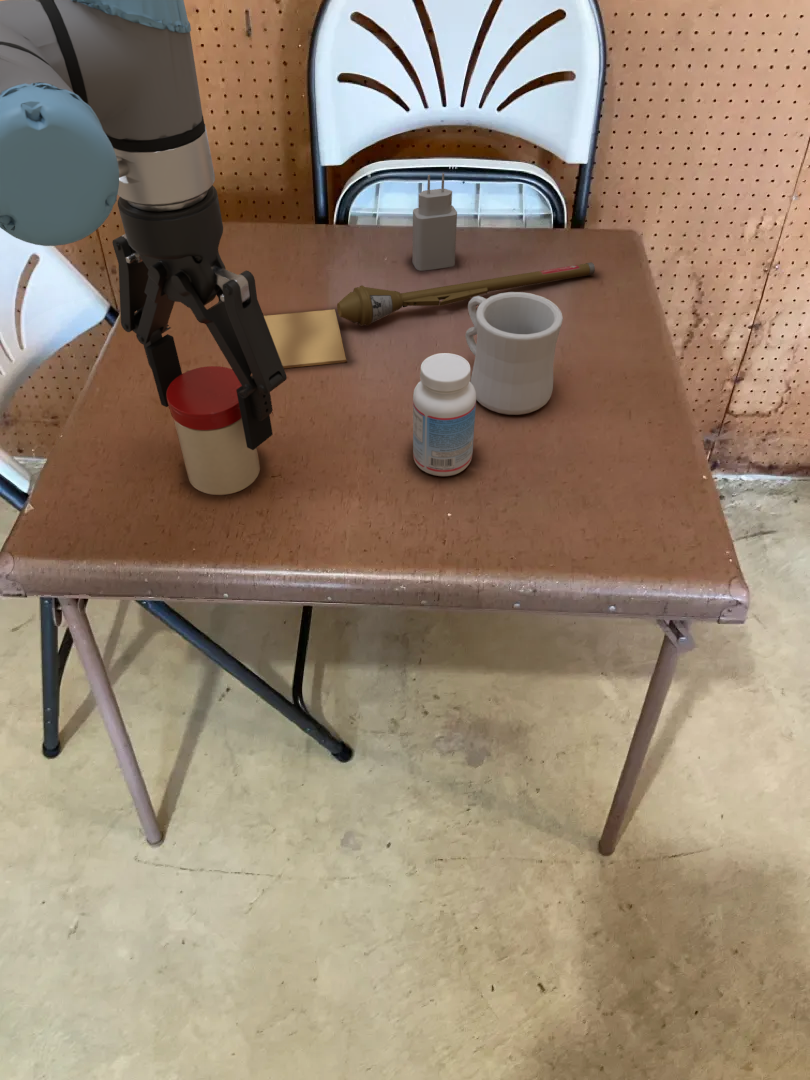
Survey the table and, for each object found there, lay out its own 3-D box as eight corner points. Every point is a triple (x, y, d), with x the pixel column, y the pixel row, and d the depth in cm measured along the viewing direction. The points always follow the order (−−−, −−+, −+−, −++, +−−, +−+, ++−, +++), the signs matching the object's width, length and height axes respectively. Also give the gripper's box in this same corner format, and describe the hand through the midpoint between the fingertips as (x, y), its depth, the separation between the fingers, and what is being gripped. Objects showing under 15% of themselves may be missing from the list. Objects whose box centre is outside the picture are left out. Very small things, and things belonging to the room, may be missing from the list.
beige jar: (187, 499, 82) (167, 422, 75) (187, 451, 87) (169, 375, 80) (262, 490, 83) (249, 413, 76) (258, 443, 87) (245, 367, 81)
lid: (168, 434, 76) (164, 418, 74) (169, 385, 81) (166, 370, 79) (252, 425, 77) (249, 409, 75) (248, 378, 82) (246, 362, 80)
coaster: (250, 371, 96) (250, 369, 96) (246, 320, 104) (246, 317, 103) (346, 362, 98) (346, 359, 97) (335, 311, 105) (335, 309, 105)
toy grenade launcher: (578, 274, 114) (595, 294, 111) (332, 314, 104) (345, 337, 101) (587, 242, 110) (605, 262, 108) (333, 281, 100) (346, 304, 97)
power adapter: (411, 260, 114) (411, 171, 105) (449, 255, 115) (453, 166, 106) (417, 271, 112) (418, 181, 103) (456, 266, 113) (460, 176, 104)
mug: (568, 397, 93) (582, 318, 86) (507, 429, 89) (516, 348, 82) (494, 347, 100) (501, 269, 92) (434, 374, 96) (437, 295, 89)
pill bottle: (482, 452, 87) (490, 360, 78) (452, 486, 83) (458, 394, 75) (432, 432, 89) (435, 341, 81) (401, 464, 85) (400, 372, 77)
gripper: (28, 171, 66) (103, 397, 82) (245, 252, 57) (282, 488, 73) (102, 139, 71) (159, 360, 87) (314, 210, 61) (335, 442, 78)
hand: (215, 419), depth 80 cm, fingers open, 10 cm apart
